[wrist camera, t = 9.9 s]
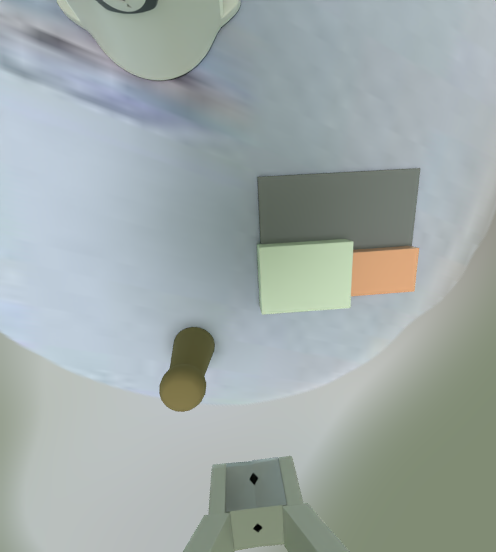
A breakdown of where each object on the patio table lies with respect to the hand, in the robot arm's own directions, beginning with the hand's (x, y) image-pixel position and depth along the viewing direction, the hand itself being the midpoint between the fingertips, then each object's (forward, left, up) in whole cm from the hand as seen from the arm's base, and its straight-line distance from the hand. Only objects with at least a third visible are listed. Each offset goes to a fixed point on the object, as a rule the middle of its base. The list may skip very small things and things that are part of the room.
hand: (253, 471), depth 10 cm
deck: (0, +9, -28) cm, 29 cm away
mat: (-5, +14, -28) cm, 31 cm away
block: (0, +20, -27) cm, 34 cm away
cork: (+10, -7, -28) cm, 31 cm away
